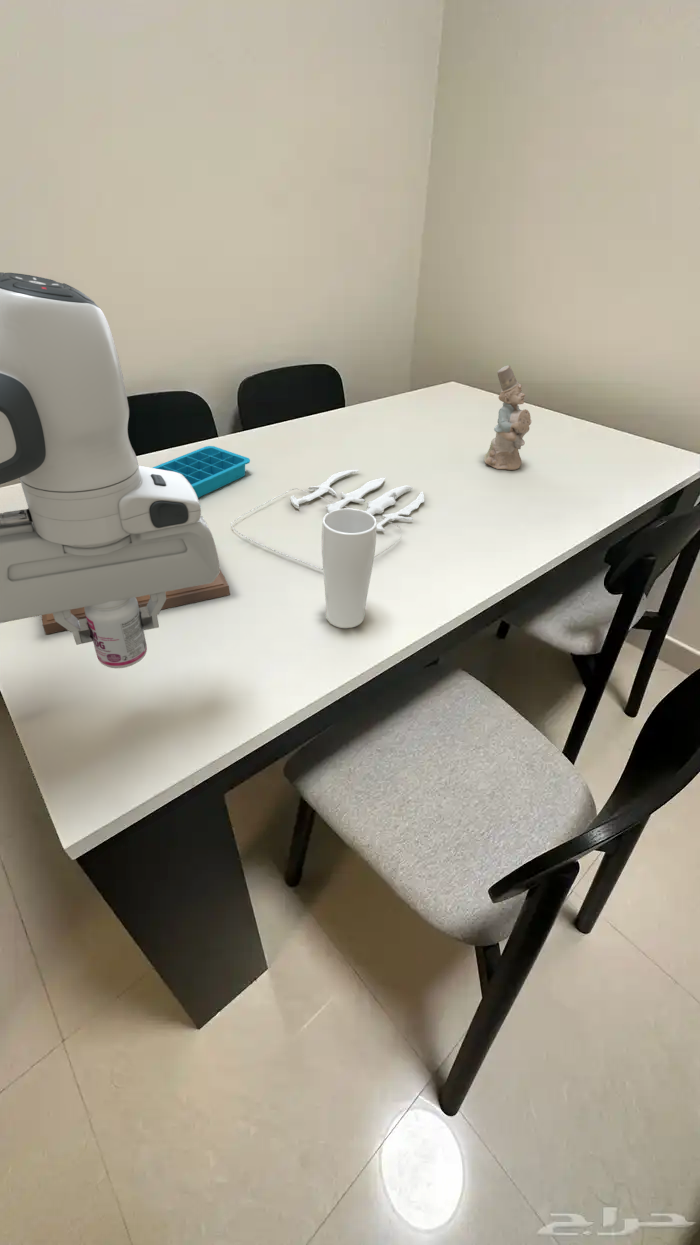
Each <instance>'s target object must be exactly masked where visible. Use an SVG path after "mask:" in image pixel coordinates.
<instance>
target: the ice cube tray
mask: <svg viewBox="0 0 700 1245" xmlns="http://www.w3.org/2000/svg"><path fill="white" fill-rule="evenodd" d="M250 463H251V459H250V458H249V457H247V456H244V455H241V454H238V453H235V452H233V451H229V450H226V449H223V448H220V447H217V446H214V445H207V446H204V447H201V448H199V449H196V450H193V451H190V452H188V453H185V454H183V455H181V456H178V457H175V458H172V459H170V460H168V461H166V462H163V463H160V464H158V465H156V466H153V467H152V468H155V469H161V470H167V471H173V472H177V473H180V474H182V475H183V476H184V477H185V478H186V479H187V480H188V481H189V483H190V484H191V485H192V487H193V489H194V490H195V492H196V494H197V497H198V499H199V498H201V497H203V496H206V495H207V494H210V493H211V492H214V491H215V490H217V489H220V488H222V487H224V486H226V485H229V484H230V483H232V482H235V481H238V480H239V479H241V478H243V477H245V476H246V465H247V464H250Z"/></svg>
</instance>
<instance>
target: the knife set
mask: <svg viewBox="0 0 700 1245" xmlns="http://www.w3.org/2000/svg"><path fill="white" fill-rule="evenodd" d="M358 472H360V469H345V470H342V471H338V472H335V473H333V474H331V475H329V476H328V478H327V479H326V480H324V481H323V482H321V483H320V484H319V485H311V486H309V487H307V488H308V491H306V490H304V489H300V488H292V489H291V488H290V489H289V490H287V491H285V492H283V493H281V494H278V495H277V496H275V497H273V498H271V499H269V500H267V501H265V502H264V503H262V504H260V505H258V506H256V507H254V508H253V509H251V510H249V511H247V512H245V513H244V514H242V515H240V516H238V517H236V518H235V519H234V520H233V521H232V522H230V526H231V529H232V530H234V531H235V532H236V533H237V534H239V535H240V536H242V537H244V538H246V539H248V540H249V541H251V542H253V543H255V544H258V545H259V546H261V547H263V548H266V549H268V550H271V551H273V552H276V553H277V554H281V555H283V556H286V557H288V558H290V559H293V560H296V561H298V562H301V563H303V564H306V565H308V566H311V567H313V568H316V569H319V570H322V571H323V567H320V566H316V565H314V564H311V563H308V562H306V561H304V560H301V559H298V558H296V557H293V556H291V555H288V554H285V553H283V552H281V551H279V550H276V549H274V548H271V547H269V546H266V545H265V544H263V543H260V542H258V541H256V540H254V539H252V538H250V537H248V536H246V535H244V534H243V533H241V532H239V531H238V530H237V529H235V528H234V527H233V523H234V522H236V521H237V520H238V519H240V518H242V517H244V516H246V515H247V514H249V513H251V512H252V511H254V510H256V509H258V508H260V507H261V506H264V505H265V504H268V503H270V502H272V501H274V500H276V499H277V498H280V497H281V496H283V495H284V494H287V493H288V492H291V491H294V490H300V491H302V492H304V493H307V495H304V496H301V497H299V498H298V497H295V496H296V494H294V495H292V496H290V497H289V498H290V499H289V500H290V503H291V505H292V506H293V507H294V508H295V509H300V505H301V504H304V503H306V502H311V501H313V500H314V499H316V498H321V499H322V500H325V501H329V502H331V503H329V504H325V509H327V513H329V512H331V511H333V510H337V509H344V508H351V509H353V508H352V507H349V506H347V505H348V504H349V503H351V502H353V503H357V504H362V503H365V502H366V505H367V507H366V510H364V511H365V512H368V513H369V514H371V515H372V516H374V518H375V519H379V520H381V521H379V522H377V532H385V531H386V529H385V528H384V527H383V526H384V525H386V524H387V523H391V524H392V525H395V526H397V527H398V528H399V530H400V531H402V529H401V527H400V526H399V524H396V523H394V521H397V520H404V521H413V520H414V519H415V518H414V517H412V516H409V515H410V514H411V513H412V512H413V511H414V510H417V509H418V508H419V506H420V505H421V504H423V503H424V502H425V495H424V492H423V491H420V493H419V494H418V496H417V497H416V498H415V499H414V500H412V501H411V502H410V503H409V504H407V505H406V506H404V507H403V508H400V509H399V510H398V511H396V512H392V513H387V514H383V513H384V512H385V509H387V508H389V507H392V506H394V505H395V504H396V500H397V499H398V498H400V497H401V496H402V495H405V493H408V492H410V491H411V490H413V489H414V487H412V486H411V485H407V484H406V485H402V486H401V485H400V486H397V487H394V488H391V489H389V490H387V491H386V492H384V493H382V494H381V495H379V496H378V497H376V498H375V499H373V500H370V501H366V499H365V498H363V497H364V496H365V495H367V494H368V493H370V492H371V491H375V490H376V489H378V488H380V487H382V485H383V483H384V481H385V479H386V476H383V477H380V478H375V479H371V480H369V481H367V482H365V483H363V484H362V485H361V486H360V487H359V488H357V489H355V490H352V491H350V492H348V493H344V491H343V490H342V491H341V492H340V495H341V498H342V499H340V500H338V501H333V500H330V499H328V498H325V497H322V496H323V495H324V494H326V493H329V494H331V495H332V496H337V495H338V494H337V492H336V491H335V490H334V489H333V488H332V487H331V485H332V484H334V483H335V482H337V481H338V480H341V479H342V478H344V477H347V476H350V475H351V474H355V473H358ZM309 491H313V492H312V493H311V492H309ZM377 514H382V515H381V516H382V517H383V518H384V519H383V518H380V517H378V516H375V515H377ZM401 535H402V534H400V536H399V538H398V539H397V540H396V541H395V542H393V543H392V544H391V545H390V546H389V547H386V549H384V550H383V551H381V552H379V553H378V554H376V555H374V559H375V558H376V557H378V556H379V555H381V554H383V553H384V552H385V551H387V550H389V549H390V548H391V547H393V546H394V545H396V544H397V543H398V541H399V540H400V539H401Z"/></svg>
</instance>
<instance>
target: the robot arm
mask: <svg viewBox="0 0 700 1245" xmlns="http://www.w3.org/2000/svg"><path fill="white" fill-rule="evenodd" d="M120 361H121V360H120V358H119V353H118V349H117V345H116V343H115V339H114V335H113V332H112V329H111V327H110V323H109V321H108V319H107V317H106V315H105V313H104V311H103V310H102V309H101V307H100V306H99V305H98V304H96V302H95V301H94V300H93V299H92V298H90V297H89V296H88V295H86V294H85V293H83V291H81V290H79V289H77V288H75V287H74V286H72V285H69V284H67V283H64V282H63V283H62V282H59V281H56V280H54V279H51V278H46V277H42V276H36V275H31V274H25V273H19V272H18V273H16V272H0V485H3V484H6V483H9V482H12V481H15V480H17V479H19V482H20V485H21V489H22V491H23V495H24V498H25V502H26V505H27V508H26V509H17V510H10V511H3V512H0V624H2V623H7V622H12V621H18V620H24V619H29V618H34V617H39V616H42V615H45V614H50V613H53V616H54V619H55V621H56V622H57V623H59V624H60V625H62V626H63V627H64V628H66V629H67V630H66V631H69V632H70V633H72V635H73V639H74V643H75V645H76V646H79V645H83V644H88V643H93V639H92V635H91V632H90V628H89V625H88V622H87V619H86V618H85V619H79V620H78V619H77V618H76V617H75V616H74V615H72V614H71V611H70V610H71V609H77V608H82V607H87V606H92V605H98V604H103V603H106V602H109V601H118V600H124V599H129V598H134V597H140V596H145V595H150V599H149V602H148V604H147V606H145V607H141V608H139V610H140V615H141V620H142V625H143V630H144V631H148V630H153V629H158V628H160V625H159V624H160V623H159V619H158V615H159V614H160V612H161V611H162V609H161V608H162V607H163V605H164V603H165V601H166V593H165V592H166V591H171V590H176V589H182V588H187V587H192V586H197V585H203V584H208V583H212V582H213V581H214V580H215V579H216V577H217V576H218V574H219V572H220V570H221V568H220V561H219V555H218V550H217V546H216V542H215V540H214V536H213V533H212V532H211V529H210V527H209V525H208V523H207V521H206V520H205V518H204V515H203V514H202V508H201V503H200V500H199V498H198V497H197V494H196V492H195V490H194V489H193V487H192V485H191V484H190V483H189V481H188V480H187V479H186V478H185V477H184V476H183V475H182V474H180V473H177V472H173V471H167V470H161V469H155V468H153V467H151V466H150V467H149V466H143V465H140V464H139V461H138V457H137V455H136V452H135V450H134V448H133V447H132V444H131V441H130V438H129V430H128V429H129V418H130V406H129V401H128V396H127V389H126V385H125V379H124V375H123V369H122V365H121V362H120Z"/></svg>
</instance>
